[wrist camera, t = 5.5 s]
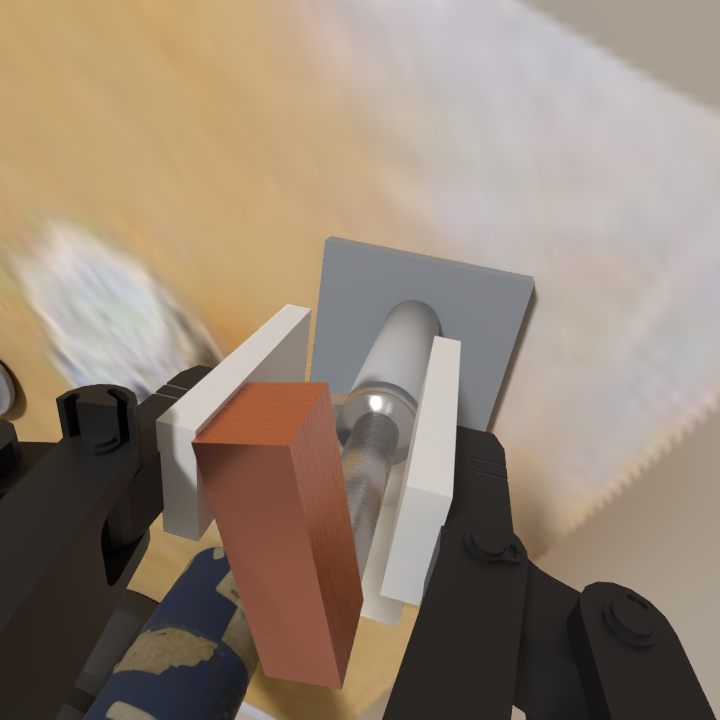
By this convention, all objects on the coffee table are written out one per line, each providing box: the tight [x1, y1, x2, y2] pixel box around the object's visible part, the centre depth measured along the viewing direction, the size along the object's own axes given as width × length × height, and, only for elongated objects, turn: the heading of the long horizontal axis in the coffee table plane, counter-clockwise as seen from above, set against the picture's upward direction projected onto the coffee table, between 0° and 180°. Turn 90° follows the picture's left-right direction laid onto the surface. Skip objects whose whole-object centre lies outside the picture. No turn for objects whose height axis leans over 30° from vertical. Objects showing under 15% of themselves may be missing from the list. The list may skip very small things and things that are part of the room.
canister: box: [82, 547, 259, 720], centre depth 36 cm, size 10×10×18 cm
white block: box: [339, 447, 407, 627], centre depth 28 cm, size 8×6×10 cm
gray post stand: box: [310, 237, 535, 432], centre depth 28 cm, size 26×12×11 cm, turn 171°
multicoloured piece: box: [191, 381, 418, 690], centre depth 14 cm, size 9×7×10 cm
